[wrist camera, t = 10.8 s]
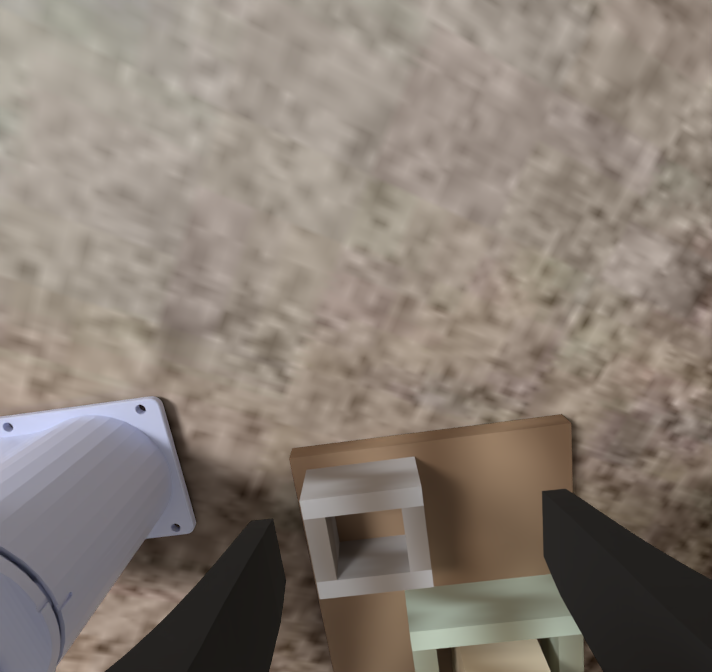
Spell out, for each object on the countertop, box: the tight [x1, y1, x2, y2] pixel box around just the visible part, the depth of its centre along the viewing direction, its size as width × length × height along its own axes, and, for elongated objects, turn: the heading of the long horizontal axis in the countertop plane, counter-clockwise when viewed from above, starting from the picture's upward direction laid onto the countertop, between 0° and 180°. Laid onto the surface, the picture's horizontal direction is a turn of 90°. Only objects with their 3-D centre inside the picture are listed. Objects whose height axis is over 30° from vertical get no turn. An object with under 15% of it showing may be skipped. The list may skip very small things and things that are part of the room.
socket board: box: [289, 414, 584, 672], centre depth 23 cm, size 14×20×4 cm
